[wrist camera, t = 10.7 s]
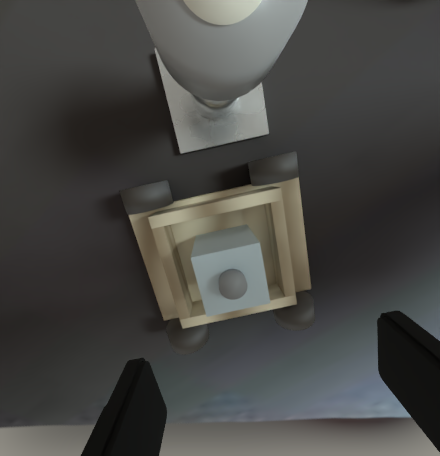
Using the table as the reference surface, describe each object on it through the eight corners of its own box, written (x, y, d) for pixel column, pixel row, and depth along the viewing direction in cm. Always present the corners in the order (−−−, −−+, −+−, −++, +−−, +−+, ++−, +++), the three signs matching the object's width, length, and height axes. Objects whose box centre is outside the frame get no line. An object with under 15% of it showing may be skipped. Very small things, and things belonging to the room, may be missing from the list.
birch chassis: (291, 152, 20) (311, 147, 16) (309, 299, 24) (328, 324, 20) (124, 190, 20) (104, 193, 16) (170, 329, 24) (163, 359, 20)
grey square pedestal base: (252, 30, 17) (273, -43, 11) (267, 134, 19) (291, 118, 13) (156, 52, 17) (128, -9, 11) (181, 154, 19) (168, 145, 13)
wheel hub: (272, -69, 9) (307, -208, 6) (289, 87, 11) (325, 49, 7) (135, -36, 9) (93, -156, 6) (173, 114, 11) (156, 87, 7)
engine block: (246, 224, 20) (262, 246, 14) (255, 270, 21) (273, 309, 15) (195, 235, 20) (189, 262, 14) (207, 281, 21) (206, 324, 15)
